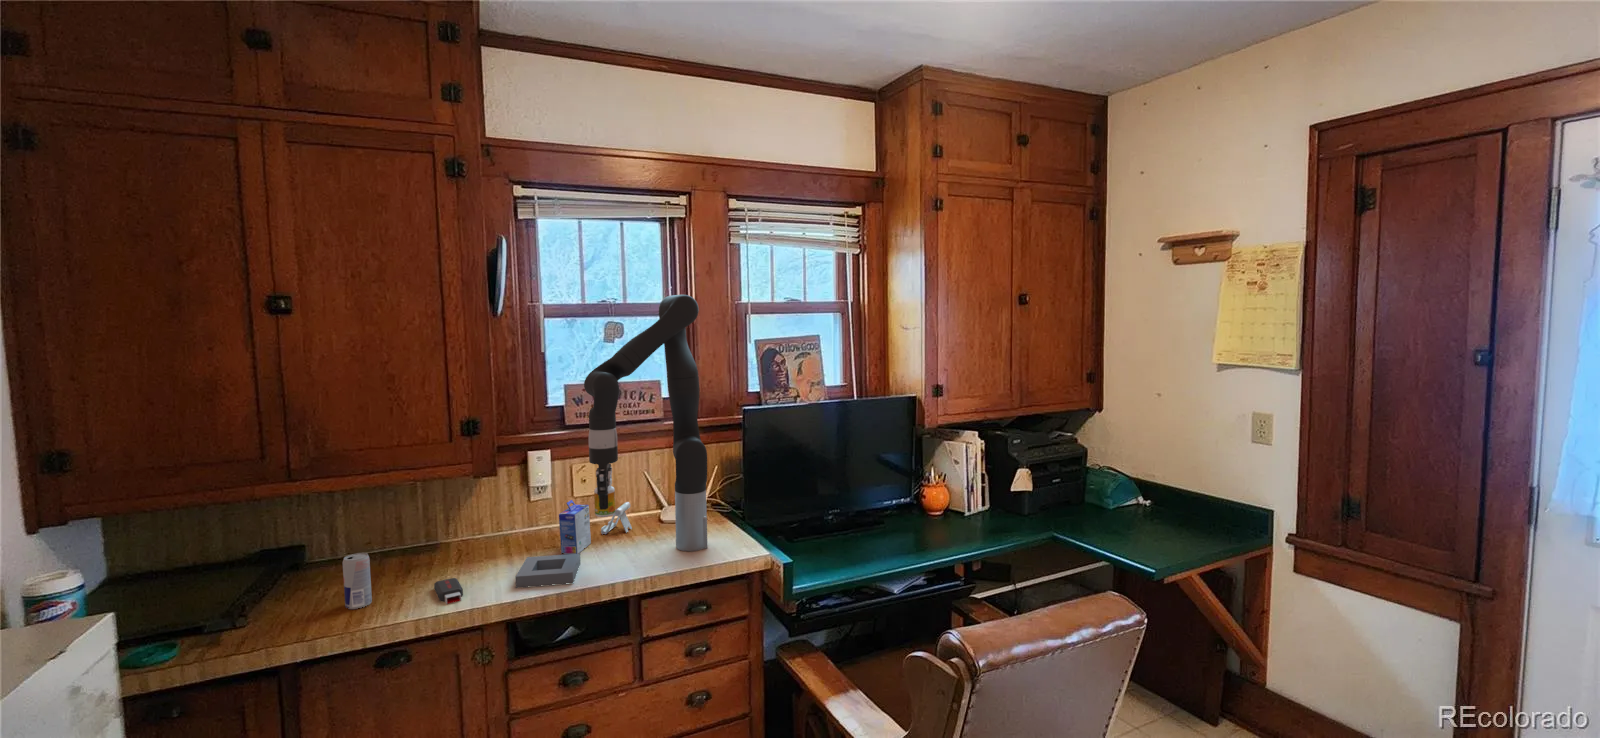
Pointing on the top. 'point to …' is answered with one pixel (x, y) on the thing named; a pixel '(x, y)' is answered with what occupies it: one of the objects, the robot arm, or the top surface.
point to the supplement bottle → (611, 502)
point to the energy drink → (357, 580)
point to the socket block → (548, 570)
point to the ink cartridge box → (574, 528)
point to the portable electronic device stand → (622, 515)
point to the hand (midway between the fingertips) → (605, 505)
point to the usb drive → (448, 590)
